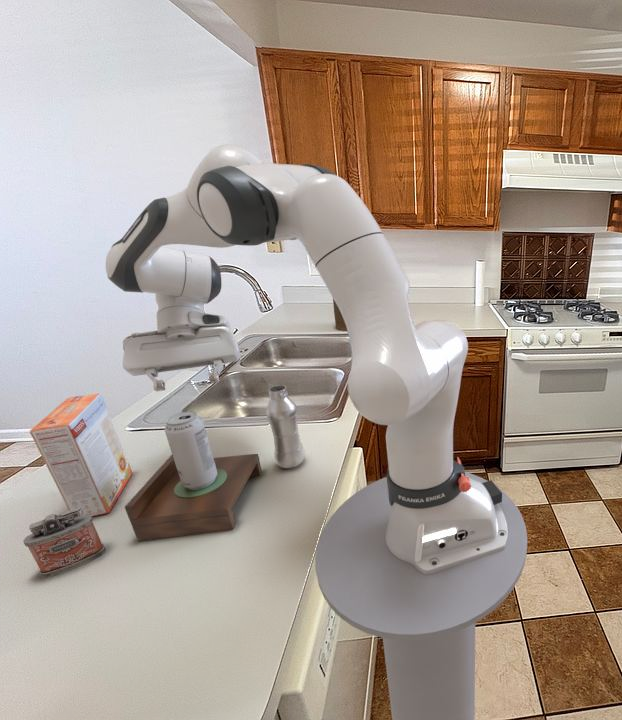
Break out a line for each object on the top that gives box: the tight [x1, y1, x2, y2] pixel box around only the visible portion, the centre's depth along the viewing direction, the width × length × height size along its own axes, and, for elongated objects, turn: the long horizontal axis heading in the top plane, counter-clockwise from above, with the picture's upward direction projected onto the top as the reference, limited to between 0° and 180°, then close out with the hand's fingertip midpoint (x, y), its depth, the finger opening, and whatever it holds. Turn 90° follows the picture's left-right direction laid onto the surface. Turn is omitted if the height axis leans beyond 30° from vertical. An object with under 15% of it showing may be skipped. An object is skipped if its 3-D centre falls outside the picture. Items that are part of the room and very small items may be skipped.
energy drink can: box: [164, 411, 217, 490], centre depth 78 cm, size 6×6×15 cm
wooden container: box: [332, 298, 347, 331], centre depth 198 cm, size 15×15×22 cm
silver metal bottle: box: [265, 384, 306, 469], centre depth 91 cm, size 6×7×20 cm
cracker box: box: [29, 392, 133, 518], centre depth 80 cm, size 14×6×21 cm, turn 23°
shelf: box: [124, 453, 263, 542], centre depth 81 cm, size 16×18×8 cm
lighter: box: [23, 507, 107, 578], centre depth 67 cm, size 8×3×10 cm, turn 131°
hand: (187, 385), depth 82 cm, fingers open, 8 cm apart
